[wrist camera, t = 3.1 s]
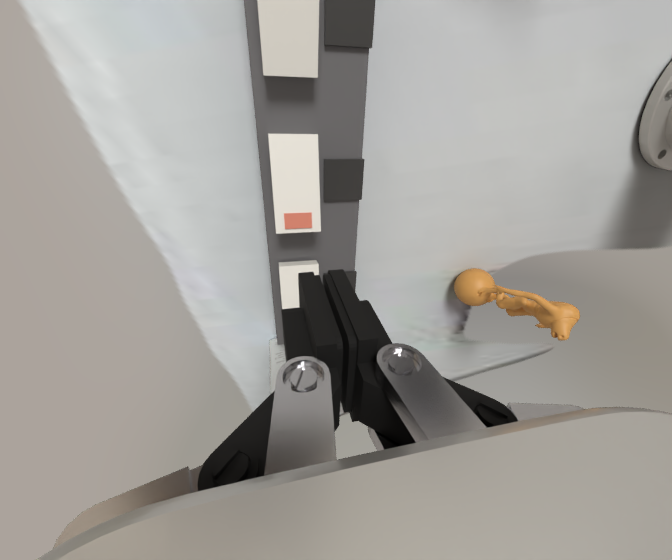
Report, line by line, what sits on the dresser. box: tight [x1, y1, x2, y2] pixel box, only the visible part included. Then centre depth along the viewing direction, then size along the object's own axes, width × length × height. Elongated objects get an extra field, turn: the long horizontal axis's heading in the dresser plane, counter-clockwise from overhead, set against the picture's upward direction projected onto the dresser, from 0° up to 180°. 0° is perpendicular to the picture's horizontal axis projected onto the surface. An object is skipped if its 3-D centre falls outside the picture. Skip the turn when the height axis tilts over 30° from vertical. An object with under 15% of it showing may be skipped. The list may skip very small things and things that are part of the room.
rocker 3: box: [279, 260, 319, 309], centre depth 24 cm, size 3×6×1 cm, turn 178°
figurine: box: [454, 269, 580, 340], centre depth 28 cm, size 8×6×12 cm
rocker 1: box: [257, 0, 319, 78], centre depth 15 cm, size 3×6×1 cm, turn 178°
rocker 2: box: [268, 134, 321, 234], centre depth 20 cm, size 3×6×1 cm, turn 178°
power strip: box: [244, 0, 375, 345], centre depth 21 cm, size 7×36×4 cm, turn 178°
